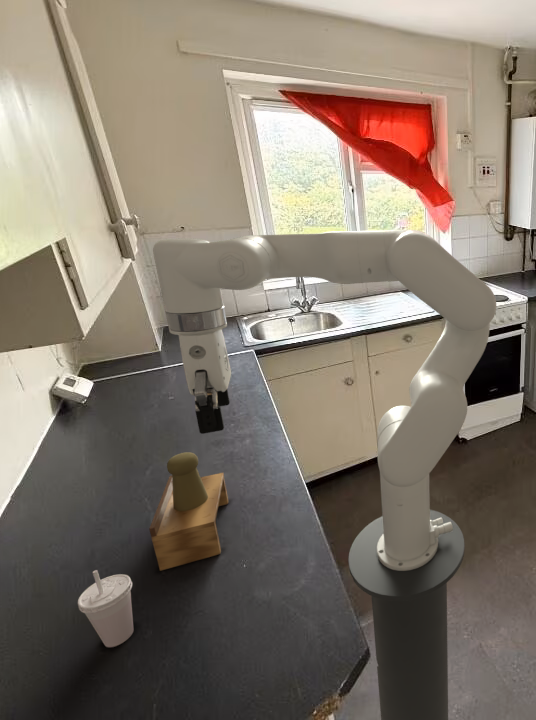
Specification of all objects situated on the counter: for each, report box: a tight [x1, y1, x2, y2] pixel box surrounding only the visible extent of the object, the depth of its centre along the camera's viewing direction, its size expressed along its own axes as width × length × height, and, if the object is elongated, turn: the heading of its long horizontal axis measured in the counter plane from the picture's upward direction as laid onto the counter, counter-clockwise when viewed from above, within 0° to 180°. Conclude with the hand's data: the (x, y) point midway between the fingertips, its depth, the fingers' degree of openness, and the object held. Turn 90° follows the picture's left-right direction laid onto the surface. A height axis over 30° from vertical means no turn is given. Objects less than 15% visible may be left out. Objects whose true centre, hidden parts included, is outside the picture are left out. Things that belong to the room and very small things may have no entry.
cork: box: [166, 451, 208, 511], centre depth 88 cm, size 6×6×11 cm
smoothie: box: [77, 569, 135, 648], centre depth 68 cm, size 6×6×14 cm
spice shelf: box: [149, 472, 229, 572], centre depth 90 cm, size 10×18×10 cm, turn 26°
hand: (216, 417), depth 71 cm, fingers open, 9 cm apart
